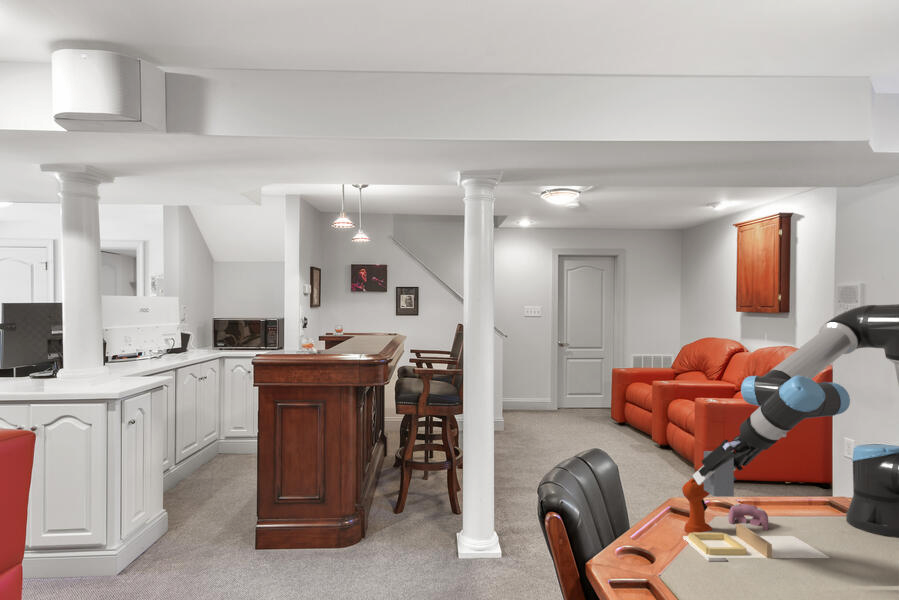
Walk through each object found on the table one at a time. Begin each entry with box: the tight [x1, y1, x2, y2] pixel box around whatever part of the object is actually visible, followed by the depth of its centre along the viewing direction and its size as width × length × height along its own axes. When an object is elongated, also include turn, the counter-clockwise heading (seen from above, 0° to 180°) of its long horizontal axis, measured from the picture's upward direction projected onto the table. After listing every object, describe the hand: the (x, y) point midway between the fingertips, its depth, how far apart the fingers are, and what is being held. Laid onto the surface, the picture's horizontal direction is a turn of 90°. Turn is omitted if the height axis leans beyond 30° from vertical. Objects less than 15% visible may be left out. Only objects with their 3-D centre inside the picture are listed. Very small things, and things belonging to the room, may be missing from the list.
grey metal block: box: [703, 450, 735, 497], centre depth 135 cm, size 5×5×10 cm
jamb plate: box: [682, 523, 830, 562], centre depth 135 cm, size 30×13×4 cm, turn 92°
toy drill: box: [681, 476, 737, 534], centre depth 148 cm, size 5×19×15 cm, turn 108°
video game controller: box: [728, 503, 769, 531], centre depth 150 cm, size 10×5×7 cm, turn 59°
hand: (706, 478), depth 138 cm, fingers closed on grey metal block, 6 cm apart
